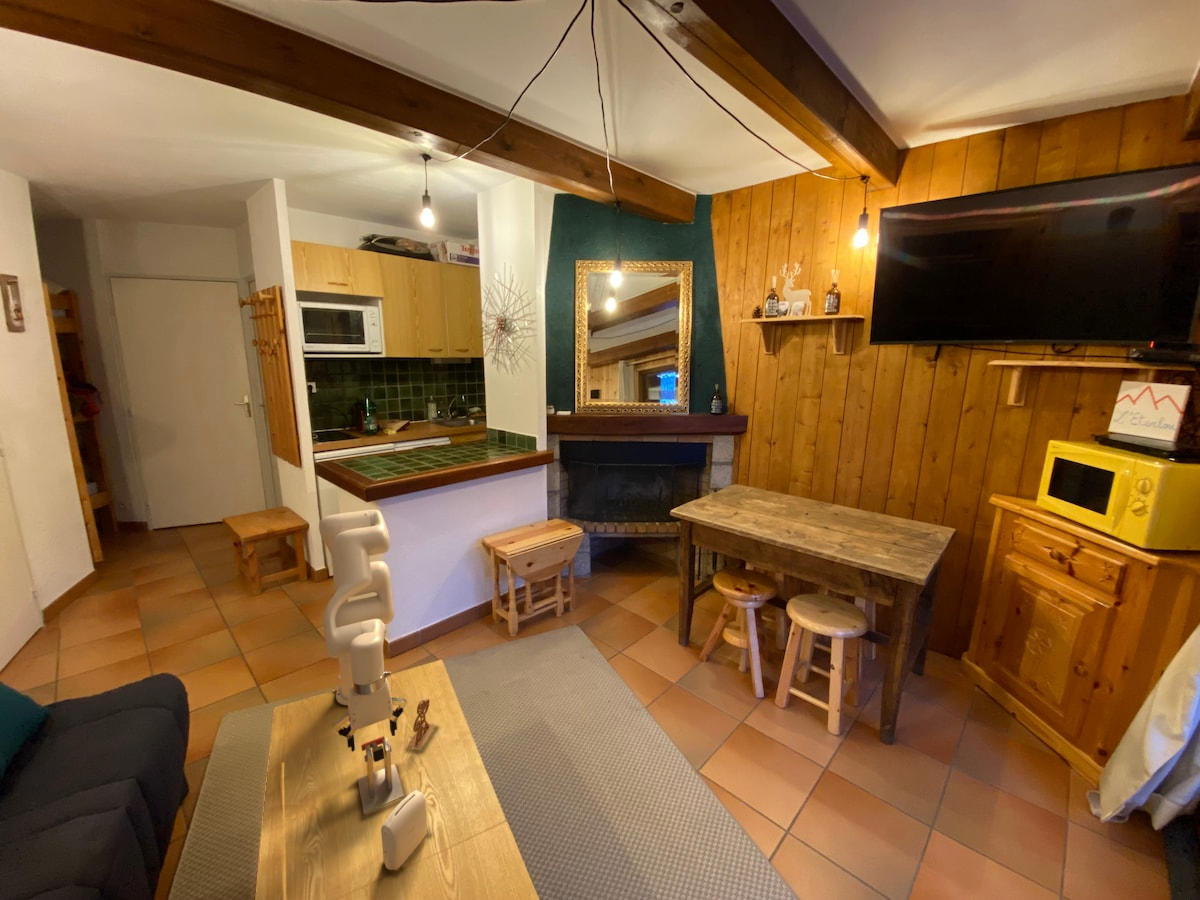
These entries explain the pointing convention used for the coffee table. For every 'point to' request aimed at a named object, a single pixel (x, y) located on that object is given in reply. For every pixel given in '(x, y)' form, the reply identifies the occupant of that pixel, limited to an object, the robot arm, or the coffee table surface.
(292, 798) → the coffee table surface
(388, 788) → the bracket
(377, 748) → the lever
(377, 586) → the robot arm
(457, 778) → the coffee table surface
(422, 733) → the brown filigree ornament
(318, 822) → the coffee table surface
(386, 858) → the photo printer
